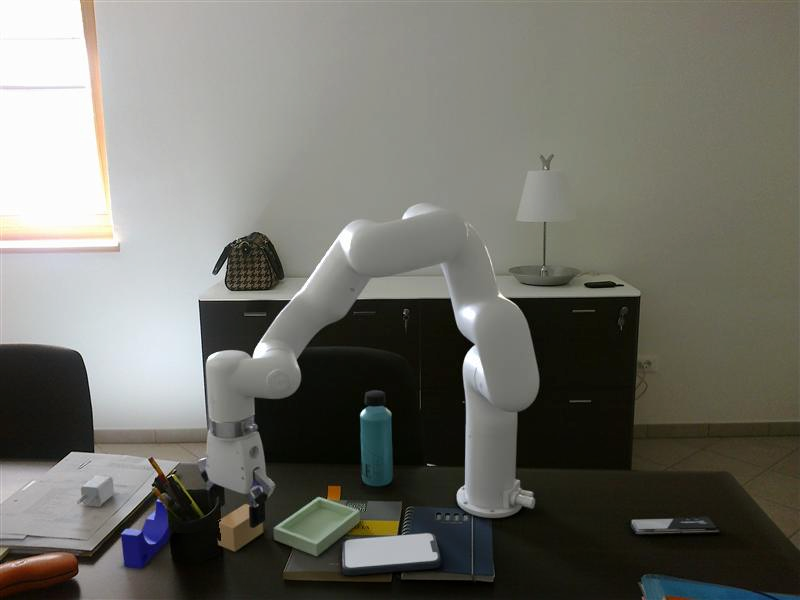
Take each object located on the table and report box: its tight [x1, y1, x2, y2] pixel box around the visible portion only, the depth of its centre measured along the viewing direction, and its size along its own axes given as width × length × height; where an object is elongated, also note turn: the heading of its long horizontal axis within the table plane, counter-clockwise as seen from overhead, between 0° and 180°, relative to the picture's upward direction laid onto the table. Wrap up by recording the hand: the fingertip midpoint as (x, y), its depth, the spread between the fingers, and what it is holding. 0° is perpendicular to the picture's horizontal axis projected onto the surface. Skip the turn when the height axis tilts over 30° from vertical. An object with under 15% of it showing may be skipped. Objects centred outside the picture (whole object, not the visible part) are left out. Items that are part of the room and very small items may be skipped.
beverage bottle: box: [359, 389, 394, 487], centre depth 135 cm, size 6×7×20 cm
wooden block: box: [217, 503, 264, 553], centre depth 119 cm, size 4×7×4 cm, turn 148°
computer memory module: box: [629, 516, 721, 536], centre depth 120 cm, size 15×1×4 cm
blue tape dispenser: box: [120, 498, 171, 569], centre depth 116 cm, size 12×4×6 cm, turn 168°
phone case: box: [341, 532, 442, 577], centre depth 113 cm, size 9×2×16 cm
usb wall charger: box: [76, 475, 115, 507], centre depth 131 cm, size 4×7×4 cm, turn 170°
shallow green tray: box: [273, 496, 361, 557], centre depth 121 cm, size 10×13×2 cm
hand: (237, 516), depth 118 cm, fingers open, 9 cm apart
